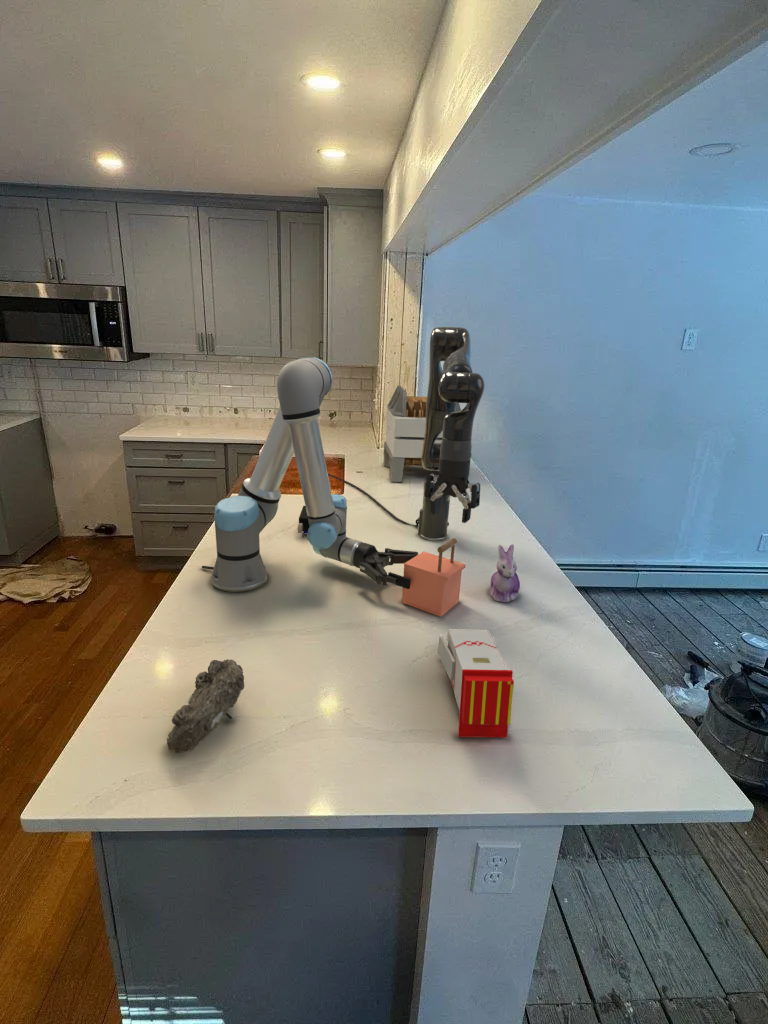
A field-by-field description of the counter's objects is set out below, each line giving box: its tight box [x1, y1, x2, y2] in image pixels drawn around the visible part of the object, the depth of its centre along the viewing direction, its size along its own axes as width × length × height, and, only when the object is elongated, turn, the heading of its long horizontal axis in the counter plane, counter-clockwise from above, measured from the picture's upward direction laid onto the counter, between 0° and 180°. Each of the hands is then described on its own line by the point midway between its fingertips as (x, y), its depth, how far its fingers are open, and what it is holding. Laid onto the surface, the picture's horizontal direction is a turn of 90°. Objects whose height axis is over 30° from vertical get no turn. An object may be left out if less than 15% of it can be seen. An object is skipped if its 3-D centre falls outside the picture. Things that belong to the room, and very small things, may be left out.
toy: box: [437, 628, 515, 738], centre depth 117 cm, size 12×13×30 cm
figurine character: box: [297, 505, 310, 538], centre depth 197 cm, size 7×8×15 cm
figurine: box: [489, 544, 521, 603], centre depth 157 cm, size 9×10×15 cm
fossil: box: [166, 658, 245, 754], centre depth 106 cm, size 22×10×15 cm
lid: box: [403, 537, 467, 581], centre depth 149 cm, size 13×10×8 cm
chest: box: [401, 566, 463, 618], centre depth 152 cm, size 12×10×11 cm
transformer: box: [383, 384, 462, 483], centre depth 268 cm, size 34×33×41 cm
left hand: (422, 575), depth 154 cm, fingers open, 13 cm apart
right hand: (449, 518), depth 144 cm, fingers open, 8 cm apart
